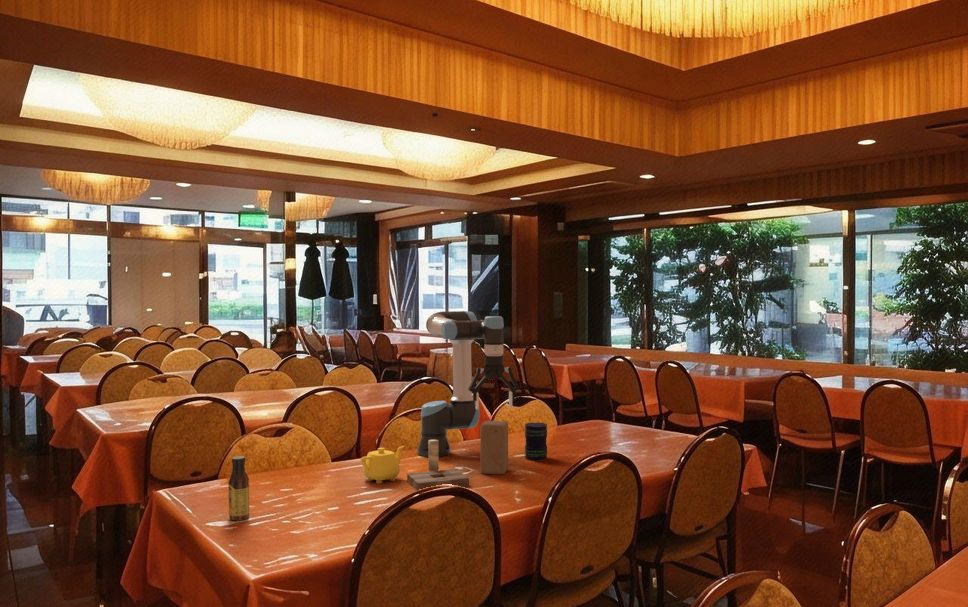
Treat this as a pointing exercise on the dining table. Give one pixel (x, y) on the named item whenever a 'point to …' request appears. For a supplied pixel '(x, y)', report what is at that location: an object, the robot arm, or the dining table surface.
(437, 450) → the peg
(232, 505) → the sauce bottle
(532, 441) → the storage jar
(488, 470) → the wooden block
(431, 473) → the board
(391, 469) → the teapot
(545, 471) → the dining table surface
